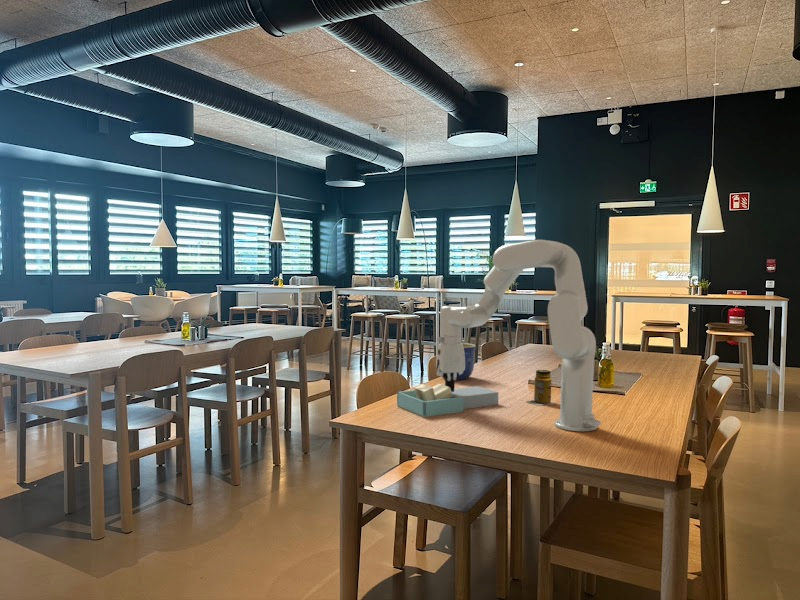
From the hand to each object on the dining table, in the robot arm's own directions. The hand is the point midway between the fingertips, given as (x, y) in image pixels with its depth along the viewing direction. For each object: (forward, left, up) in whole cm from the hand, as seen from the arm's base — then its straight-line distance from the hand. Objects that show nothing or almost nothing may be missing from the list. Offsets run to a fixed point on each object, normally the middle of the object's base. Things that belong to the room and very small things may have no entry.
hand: (449, 391), depth 203 cm
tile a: (+1, +4, -2) cm, 5 cm away
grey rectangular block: (0, -8, -5) cm, 10 cm away
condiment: (-11, -33, -6) cm, 36 cm away
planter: (+44, -34, -6) cm, 56 cm away
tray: (0, +9, -5) cm, 10 cm away
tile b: (0, +8, 0) cm, 8 cm away
